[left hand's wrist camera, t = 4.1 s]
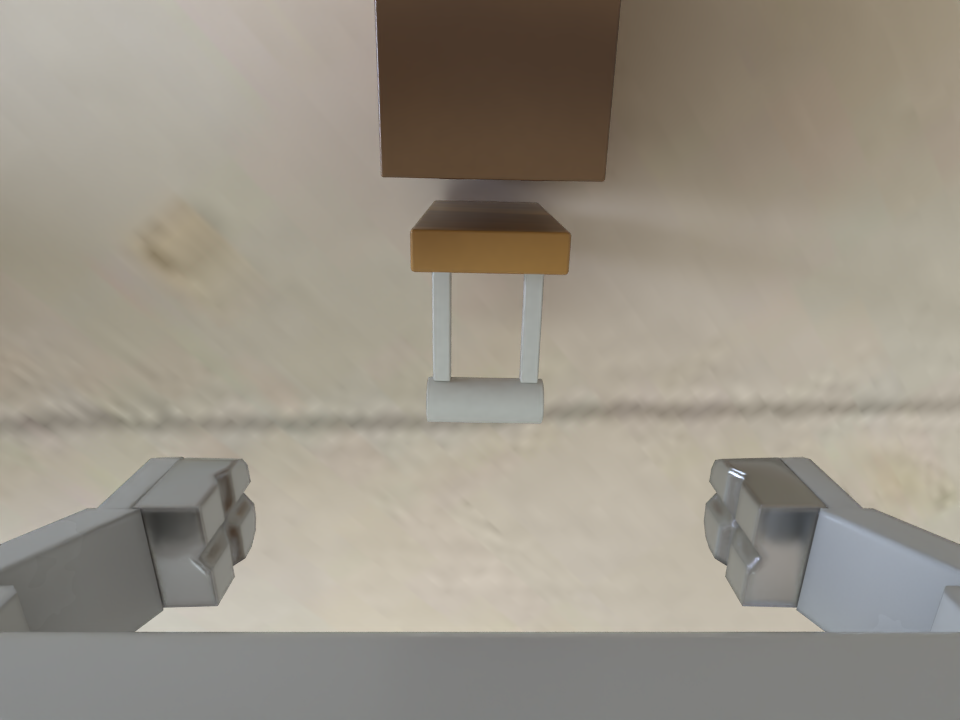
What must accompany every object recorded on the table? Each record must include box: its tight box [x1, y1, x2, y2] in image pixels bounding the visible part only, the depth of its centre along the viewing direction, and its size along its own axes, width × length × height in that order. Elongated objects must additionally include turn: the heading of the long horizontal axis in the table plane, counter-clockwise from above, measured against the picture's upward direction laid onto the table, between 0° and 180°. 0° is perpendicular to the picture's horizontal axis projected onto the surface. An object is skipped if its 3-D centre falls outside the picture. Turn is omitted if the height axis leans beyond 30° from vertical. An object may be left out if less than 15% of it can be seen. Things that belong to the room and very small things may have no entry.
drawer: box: [410, 178, 571, 424], centre depth 19 cm, size 22×4×9 cm, turn 179°
